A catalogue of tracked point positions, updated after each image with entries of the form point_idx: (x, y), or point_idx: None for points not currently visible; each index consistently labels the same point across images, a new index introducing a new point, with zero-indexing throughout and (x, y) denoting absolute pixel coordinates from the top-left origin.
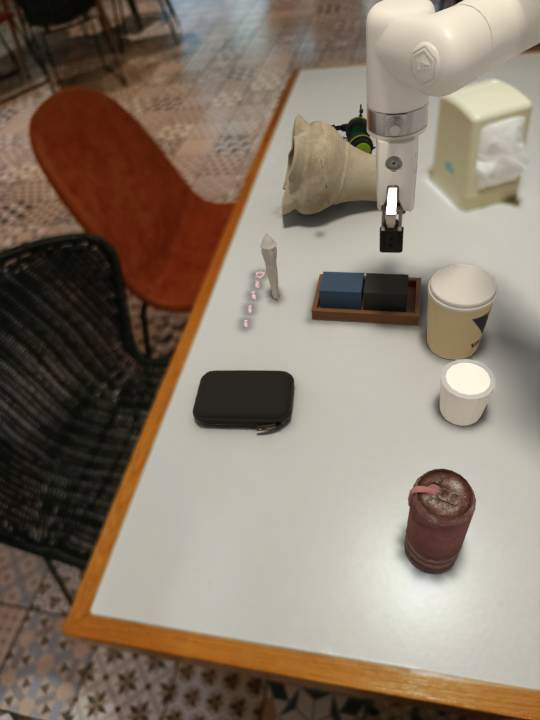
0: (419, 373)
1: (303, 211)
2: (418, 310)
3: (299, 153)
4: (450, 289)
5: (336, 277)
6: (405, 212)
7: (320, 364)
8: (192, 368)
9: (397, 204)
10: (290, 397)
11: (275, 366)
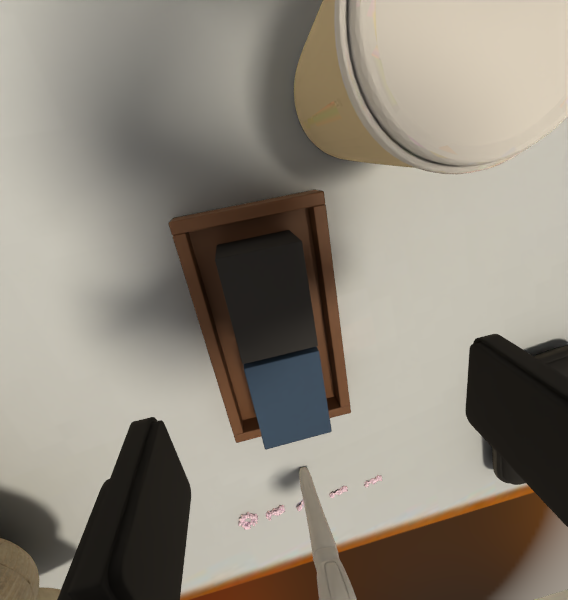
0: None
1: (38, 574)
2: (304, 198)
3: None
4: (531, 64)
5: (279, 418)
6: (149, 418)
7: (447, 341)
8: (468, 494)
9: (163, 503)
10: (551, 360)
11: (456, 402)
